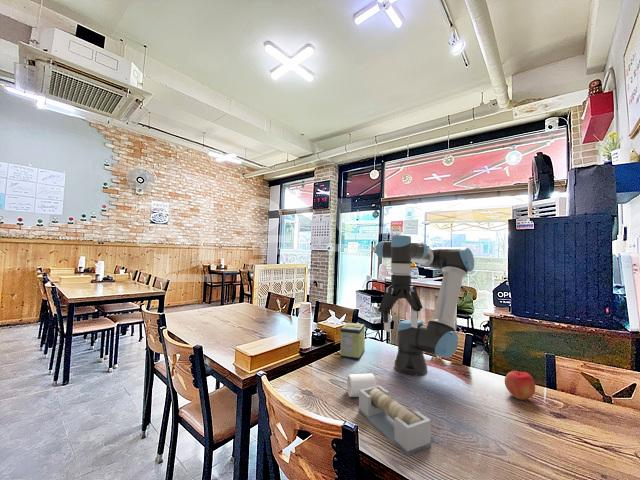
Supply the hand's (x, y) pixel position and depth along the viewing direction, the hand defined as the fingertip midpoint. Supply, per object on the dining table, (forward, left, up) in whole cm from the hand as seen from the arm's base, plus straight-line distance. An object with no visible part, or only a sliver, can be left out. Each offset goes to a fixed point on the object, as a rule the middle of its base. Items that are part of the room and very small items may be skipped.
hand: (401, 329), depth 110 cm
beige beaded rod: (+14, +12, -21) cm, 28 cm away
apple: (-43, +19, -27) cm, 54 cm away
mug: (+11, -11, -27) cm, 31 cm away
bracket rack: (+15, +12, -27) cm, 33 cm away
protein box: (-9, -48, -27) cm, 56 cm away
